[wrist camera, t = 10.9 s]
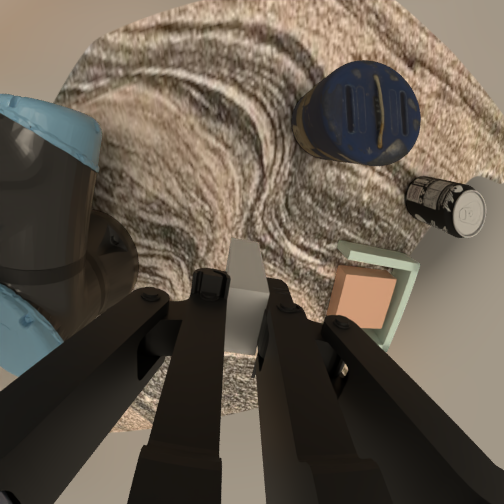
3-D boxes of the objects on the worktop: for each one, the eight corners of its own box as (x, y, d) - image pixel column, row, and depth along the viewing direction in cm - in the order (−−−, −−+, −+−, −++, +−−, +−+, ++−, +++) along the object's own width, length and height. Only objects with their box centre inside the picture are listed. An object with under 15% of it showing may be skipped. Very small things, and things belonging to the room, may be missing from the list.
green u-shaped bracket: (312, 329, 47) (320, 347, 42) (338, 239, 43) (350, 250, 38) (375, 335, 48) (386, 351, 43) (404, 253, 44) (420, 264, 39)
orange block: (325, 313, 47) (332, 326, 43) (337, 264, 44) (346, 274, 40) (371, 316, 47) (381, 328, 43) (385, 269, 45) (396, 279, 41)
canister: (364, 102, 37) (439, 78, 20) (351, 168, 40) (422, 181, 23) (296, 82, 36) (337, 36, 19) (282, 151, 39) (315, 149, 22)
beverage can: (438, 216, 42) (487, 236, 31) (404, 222, 42) (450, 245, 31) (437, 174, 40) (488, 184, 29) (401, 177, 40) (450, 188, 29)
